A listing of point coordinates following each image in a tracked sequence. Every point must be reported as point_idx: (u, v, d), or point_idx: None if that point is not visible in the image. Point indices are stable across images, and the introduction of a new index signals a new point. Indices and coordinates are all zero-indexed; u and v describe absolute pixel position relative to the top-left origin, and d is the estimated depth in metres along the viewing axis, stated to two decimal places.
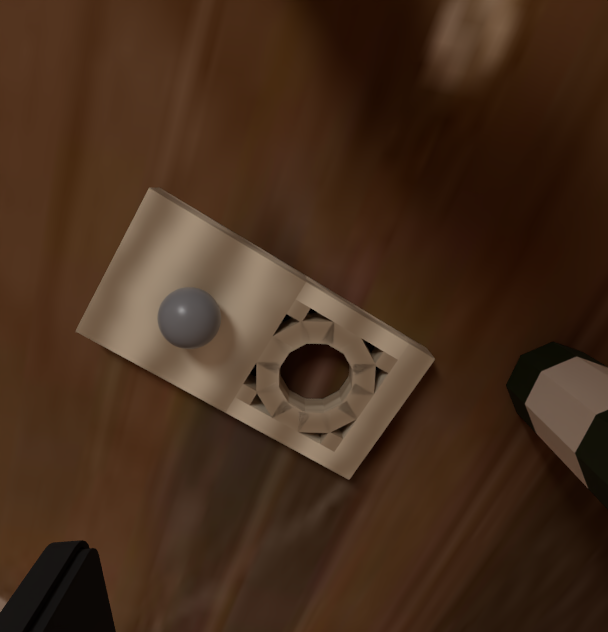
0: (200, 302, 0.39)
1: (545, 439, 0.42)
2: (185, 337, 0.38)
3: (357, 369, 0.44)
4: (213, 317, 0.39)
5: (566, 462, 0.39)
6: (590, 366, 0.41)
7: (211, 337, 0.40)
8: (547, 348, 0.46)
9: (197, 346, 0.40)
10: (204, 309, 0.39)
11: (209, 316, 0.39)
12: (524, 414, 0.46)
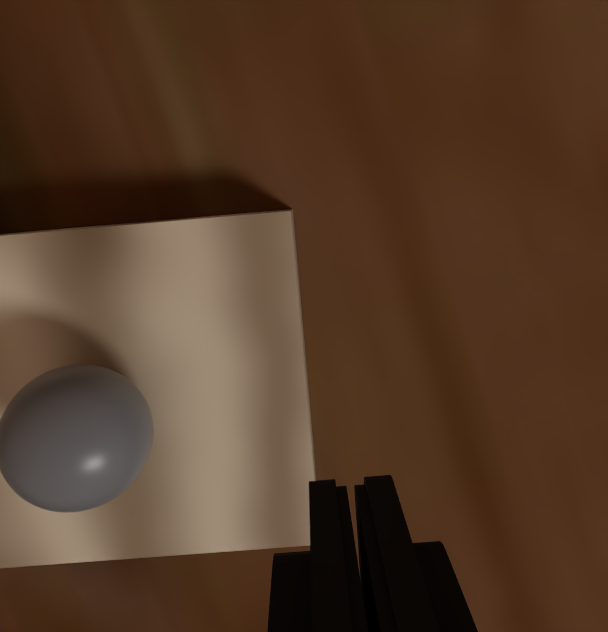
0: (65, 512, 0.17)
1: None
2: (22, 450, 0.15)
3: None
4: None
5: None
6: None
7: None
8: None
9: (2, 421, 0.16)
10: None
11: None
12: None
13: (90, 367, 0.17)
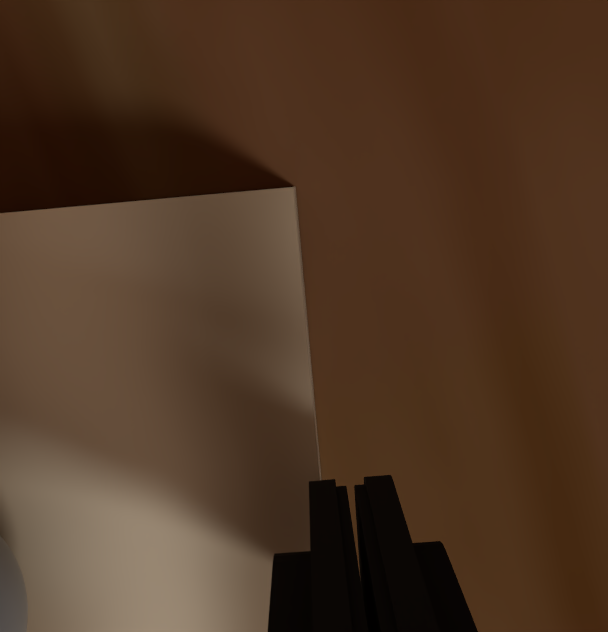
0: None
1: None
2: None
3: None
4: None
5: None
6: None
7: None
8: None
9: None
10: None
11: None
12: None
13: None
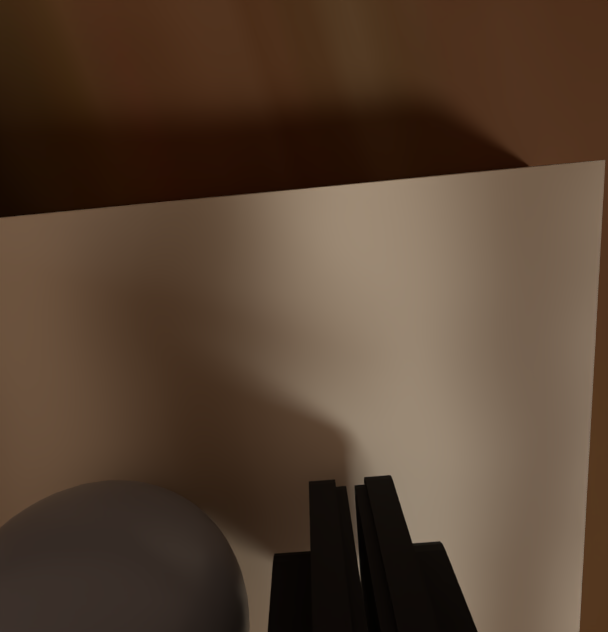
0: None
1: None
2: None
3: None
4: None
5: None
6: None
7: None
8: None
9: None
10: None
11: None
12: None
13: (122, 507, 0.08)
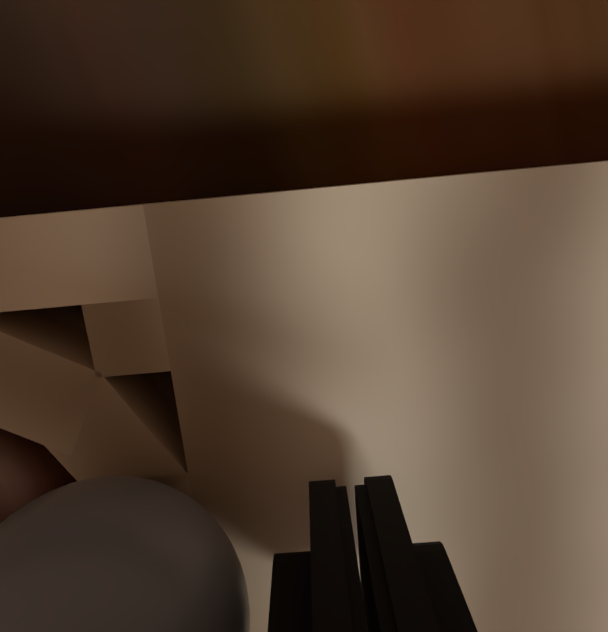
0: None
1: None
2: None
3: None
4: None
5: None
6: None
7: None
8: None
9: None
10: None
11: None
12: None
13: (113, 515, 0.08)
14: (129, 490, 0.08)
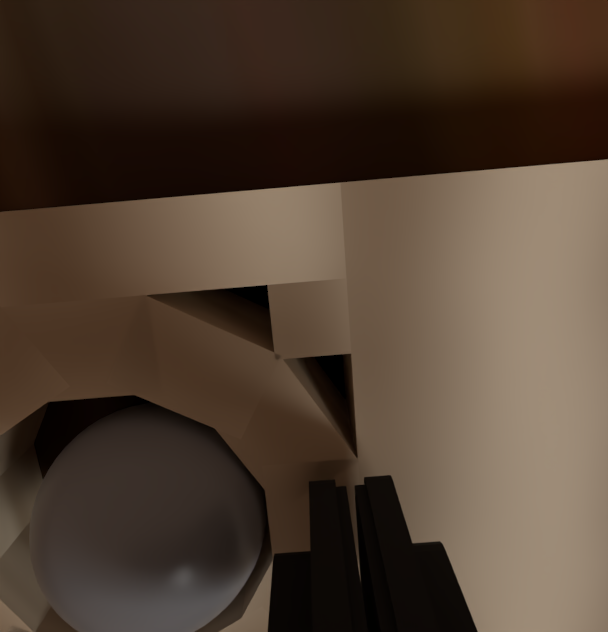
0: None
1: None
2: None
3: None
4: None
5: None
6: None
7: None
8: None
9: None
10: None
11: None
12: None
13: (120, 437, 0.10)
14: (155, 433, 0.10)
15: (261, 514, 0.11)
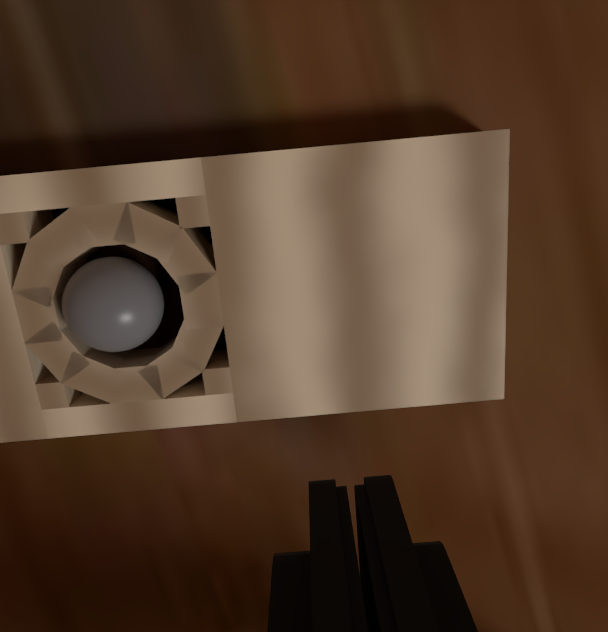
0: None
1: None
2: None
3: (78, 360, 0.27)
4: None
5: None
6: None
7: None
8: None
9: None
10: None
11: None
12: None
13: (93, 262, 0.25)
14: (104, 262, 0.25)
15: (145, 305, 0.25)
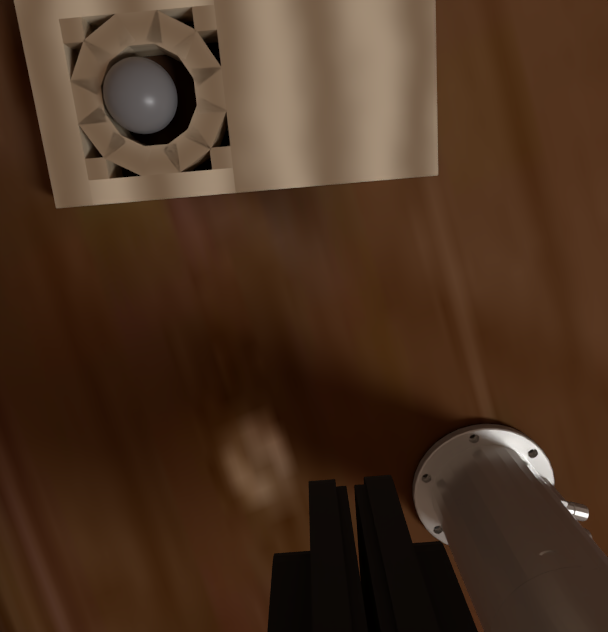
0: None
1: None
2: None
3: (117, 139, 0.36)
4: None
5: None
6: None
7: None
8: None
9: None
10: None
11: None
12: None
13: (125, 58, 0.34)
14: None
15: (160, 87, 0.34)
